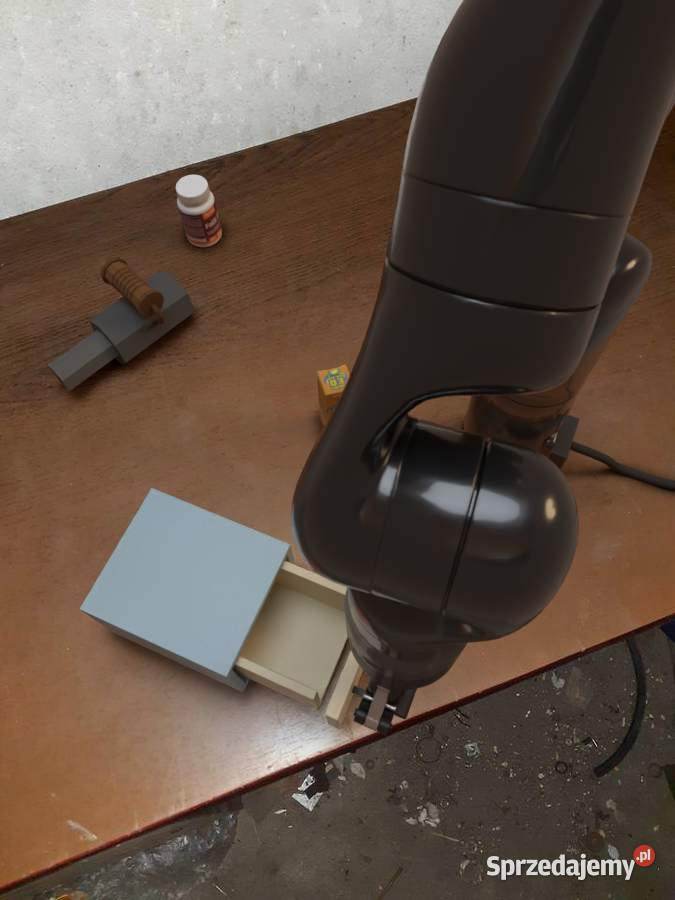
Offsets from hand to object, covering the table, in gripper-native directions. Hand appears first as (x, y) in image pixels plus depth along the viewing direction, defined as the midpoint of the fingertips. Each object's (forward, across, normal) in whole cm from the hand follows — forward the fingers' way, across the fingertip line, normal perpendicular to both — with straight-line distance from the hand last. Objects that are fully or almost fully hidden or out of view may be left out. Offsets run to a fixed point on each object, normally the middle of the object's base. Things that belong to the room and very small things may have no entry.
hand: (396, 662), depth 57 cm
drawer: (+10, 0, +7) cm, 12 cm away
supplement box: (+11, +24, +16) cm, 31 cm away
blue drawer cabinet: (+10, 0, +20) cm, 23 cm away
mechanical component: (+11, +24, +44) cm, 51 cm away
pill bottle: (+11, +44, +44) cm, 63 cm away
